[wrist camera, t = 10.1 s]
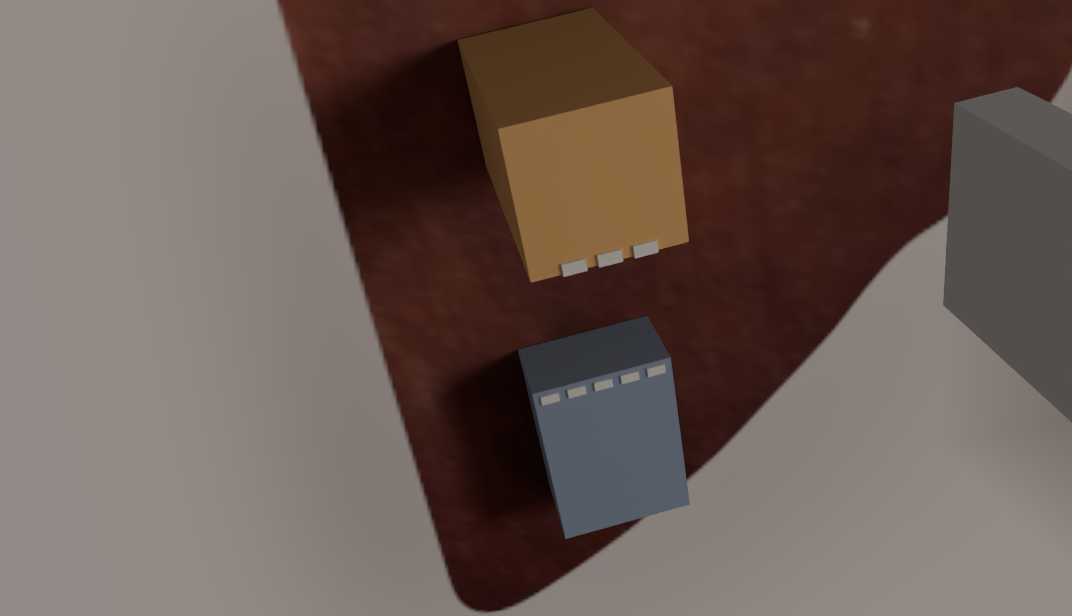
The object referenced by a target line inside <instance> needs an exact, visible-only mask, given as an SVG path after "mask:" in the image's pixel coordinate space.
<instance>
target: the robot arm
mask: <svg viewBox="0 0 1072 616" xmlns="http://www.w3.org/2000/svg"><path fill="white" fill-rule="evenodd" d="M943 304H944V306H945V307H946V308H947V309H949V311H951V313H953V314H954V315H955V316H956V317H957V318H958V319H959V320H960V321H961V322H962V323H964V324H965V325H966V326H967V327H968V328H969V329H970V330H971V331H973V333H975V334H976V335H977V336H978V337H979V338H980V339H981V340H982V341H983V342H984V343H985V344H987V345H988V346H989V347H990V348H991V349H992V350H993V351H994V352H995V353H996V354H998V355H999V356H1000V357H1001V358H1002V359H1003V360H1004V361H1005V362H1006V363H1007V364H1009V365H1010V366H1011V367H1012V368H1013V369H1014V370H1015V371H1016V372H1017V373H1019V375H1021V376H1022V377H1023V378H1024V379H1025V380H1026V381H1027V382H1028V383H1029V384H1030V385H1032V386H1033V387H1034V388H1035V389H1036V390H1037V391H1038V392H1039V393H1040V394H1041V395H1043V396H1044V397H1045V398H1046V399H1047V400H1048V401H1049V402H1050V403H1051V404H1052V405H1054V406H1055V407H1056V408H1057V409H1058V410H1059V411H1060V412H1061V413H1063V415H1064V416H1066V417H1067V418H1068V419H1069V420H1070V421H1071V422H1072V114H1071V113H1069V112H1067V111H1064V110H1062V109H1060V108H1058V107H1057V106H1054V105H1053V104H1051V103H1049V102H1047V101H1045V100H1043V99H1041V98H1039V97H1037V96H1035V95H1033V94H1031V93H1029V92H1027V91H1025V90H1023V89H1021V88H1019V87H1016V88H1012V89H1008V90H1004V91H1000V92H996V93H992V94H988V95H985V96H981V97H977V98H973V99H969V100H965V101H961V102H957V103H955V104H954V122H953V140H952V158H951V176H950V194H949V212H948V231H947V248H946V266H945V285H944V302H943Z"/></svg>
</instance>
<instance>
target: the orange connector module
mask: <svg viewBox="0 0 1072 616" xmlns="http://www.w3.org/2000/svg"><path fill="white" fill-rule="evenodd" d="M457 41H458V45H459V49H460V54H461V58H462V63H463V67H464V71H465V76H466V80H467V84H468V89H469V93H470V98H471V102H472V106H473V111H474V115H475V120H476V124H477V128H478V133H479V137H480V142H481V146H482V150H483V155H484V159H485V164H486V168H487V170H488V173H489V176H490V178H491V181H492V183H493V186H494V189H495V191H496V194H497V196H498V199H499V201H500V204H501V207H502V209H503V212H504V214H505V217H506V220H507V222H508V225H509V227H510V230H511V232H512V235H513V238H514V240H515V243H516V245H517V248H518V251H519V253H520V256H521V258H522V261H523V263H524V266H525V269H526V271H527V274H528V276H529V279H530V282H535V281H539V280H543V279H547V278H550V277H554V276H558V275H562V274H563V277H565V276H569V275H573V274H577V273H581V272H585V271H587V268H589V267H593V266H597V265H599V268H600V267H604V266H608V265H612V264H615V263H619V262H623V259H624V258H628V257H632V256H634V258H639V257H642V256H646V255H650V254H654V253H658V252H659V251H658V250H659V249H662V248H666V247H670V246H674V245H678V244H682V243H686V242H689V238H688V229H687V220H686V210H685V201H684V192H683V182H682V173H681V164H680V155H679V145H678V136H677V127H676V118H675V108H674V99H673V90H672V85H670V84H669V83H668V82H667V81H666V80H665V79H664V78H663V77H662V76H661V75H660V74H659V73H658V72H657V71H656V70H655V69H654V68H653V67H652V66H651V65H650V64H649V63H648V62H647V61H646V60H645V59H644V58H643V57H642V56H641V55H640V54H639V53H638V52H637V51H636V50H635V49H634V48H633V47H632V46H631V45H630V44H629V43H628V42H627V41H626V40H625V39H624V38H623V37H622V36H621V35H620V34H619V33H618V32H617V31H616V30H615V29H614V28H613V27H612V26H611V25H610V24H609V23H608V22H607V21H606V20H605V19H604V18H603V17H602V16H601V15H600V14H599V13H598V12H597V11H596V10H595V9H594V8H589V9H585V10H581V11H577V12H573V13H569V14H564V15H560V16H556V17H552V18H548V19H544V20H539V21H535V22H531V23H527V24H523V25H519V26H514V27H510V28H506V29H502V30H498V31H494V32H489V33H485V34H481V35H477V36H473V37H469V38H464V39H460V40H457Z"/></svg>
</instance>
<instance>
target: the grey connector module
mask: <svg viewBox="0 0 1072 616" xmlns="http://www.w3.org/2000/svg"><path fill="white" fill-rule="evenodd" d="M518 353H519V357H520V361H521V366H522V370H523V374H524V378H525V383H526V387H527V391H528V396H529V400H530V404H531V408H532V413H533V417H534V421H535V425H536V430H537V434H538V438H539V442H540V447H541V451H542V455H543V459H544V464H545V468H546V472H547V477H548V481H549V485H550V489H551V493H552V496H553V499H554V502H555V506H556V509H557V512H558V515H559V519H560V522H561V525H562V529H563V532H564V535H565V538H566V539H567V538H570V537H574V536H577V535H581V534H585V533H588V532H592V531H595V530H599V529H603V528H606V527H610V526H613V525H617V524H620V523H624V522H628V521H631V520H635V519H638V518H642V517H646V516H649V515H653V514H656V513H660V512H663V511H667V510H671V509H674V508H678V507H682V506H685V505H689V497H688V489H687V481H686V473H685V466H684V458H683V450H682V442H681V435H680V427H679V419H678V411H677V404H676V396H675V388H674V380H673V373H672V365H671V357H670V356H669V354H668V352H667V350H666V349H665V347H664V345H663V343H662V341H661V340H660V338H659V336H658V334H657V333H656V331H655V329H654V327H653V326H652V324H651V322H650V320H649V318H648V317H647V316H644V317H640V318H636V319H633V320H629V321H625V322H621V323H617V324H614V325H610V326H606V327H602V328H598V329H595V330H591V331H587V332H583V333H579V334H576V335H572V336H568V337H564V338H560V339H557V340H553V341H549V342H545V343H542V344H538V345H534V346H530V347H526V348H523V349H519V350H518Z"/></svg>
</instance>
